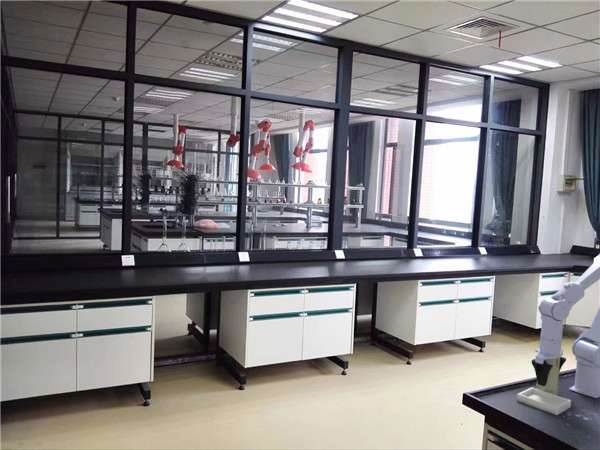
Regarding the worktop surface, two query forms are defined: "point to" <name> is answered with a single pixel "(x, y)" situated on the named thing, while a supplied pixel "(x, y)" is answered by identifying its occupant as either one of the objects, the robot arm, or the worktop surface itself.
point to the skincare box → (551, 377)
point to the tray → (544, 400)
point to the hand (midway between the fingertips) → (547, 382)
